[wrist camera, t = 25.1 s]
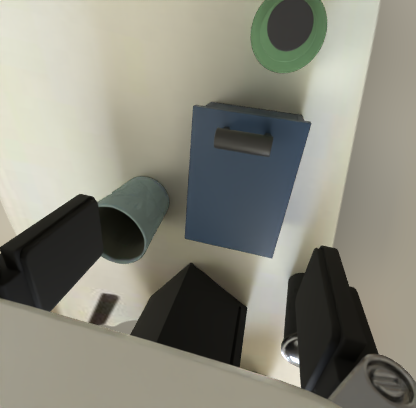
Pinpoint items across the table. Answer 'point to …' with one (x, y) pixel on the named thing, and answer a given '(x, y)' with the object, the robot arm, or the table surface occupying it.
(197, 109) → the lid
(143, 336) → the gaming console
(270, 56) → the water bottle
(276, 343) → the table surface
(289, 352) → the drinking cup
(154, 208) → the green tapered pot
